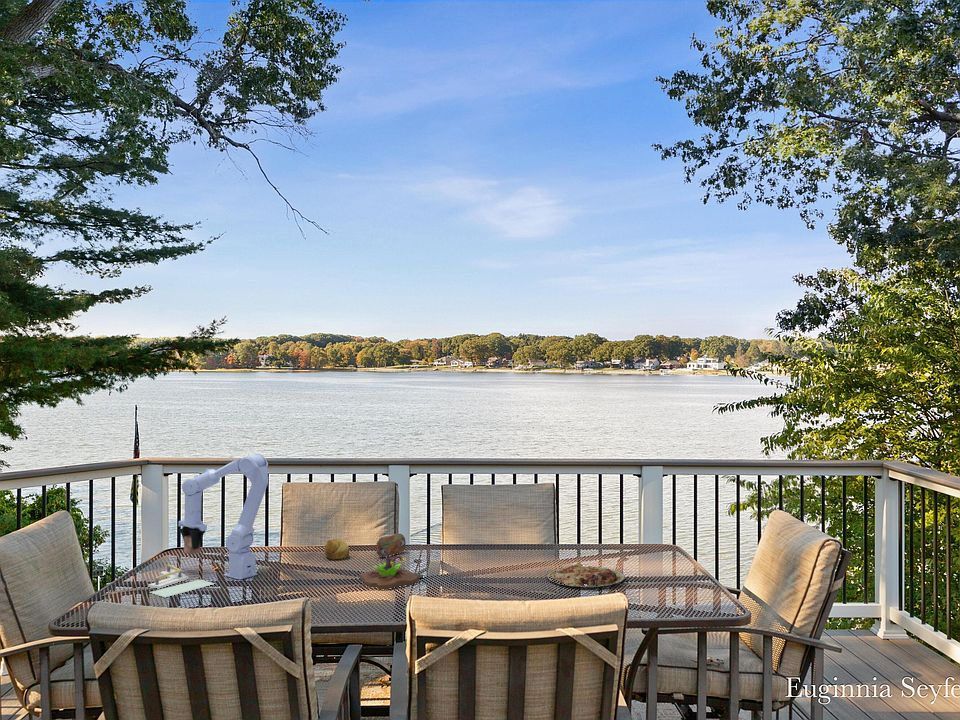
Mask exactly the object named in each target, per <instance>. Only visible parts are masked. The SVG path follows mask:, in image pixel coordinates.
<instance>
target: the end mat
mask: <svg viewBox="0 0 960 720" xmlns="http://www.w3.org/2000/svg"><path fill="white" fill-rule="evenodd" d="M214 584H216V583H215V582H211V581H206V580H203V579H196V580H192V581H188V582H184V583H181V584H175V585H171V586H168V587H165V588H162V589H155V590H153V591H149V593H152V594H151V595H153V594H155V595H154V596H156V595H158V596H157V597H159V596H162V597H161V598H163V597H164V598H163V599H167V598H166V597H168V598H171V597H170V596H172V597H175V596H179V595H183V594H186V593H185V592H187V593H190V592H193V591H192V590H194V591H197V590H196V589H198V590H201V589H200V588H202V589H204V588H203V587H205V588H207V587H206V586H209V587H211V586H210V585H213V586H215V585H214ZM189 591H190V592H189ZM182 593H183V594H182ZM178 594H179V595H178ZM174 595H175V596H174Z"/></svg>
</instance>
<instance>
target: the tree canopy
mask: <svg viewBox="0 0 960 720" xmlns="http://www.w3.org/2000/svg"><path fill="white" fill-rule="evenodd" d="M406 545H407V544H406V538H405V536H404V535H403V534H401V533H393V534H388V535H385V536H381V537H379V539H377V542H376V546H375V547H376V548H375V549H376V554H377V555H378V556H379V557H380V556H382V557H381V558H384V557H385V556H386V554H383V553H382V552H383V550H387V552H388V555H393V554H397V553H401V552H402V553H403V552H404V551H405V549H406ZM402 553H401V554H402Z"/></svg>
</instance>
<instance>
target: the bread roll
mask: <svg viewBox="0 0 960 720" xmlns="http://www.w3.org/2000/svg"><path fill="white" fill-rule="evenodd" d="M324 554H325V556H326V559H329V560H331V559H339V560H344V559H346V558H347V557H348V556H349V554H350V547H349V545H348V544H347V543H346V542H345V541H344V540H341V539H338V538H336V539H329V540H328V541H326V543H325V544H324ZM343 558H344V559H343Z"/></svg>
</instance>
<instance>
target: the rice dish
mask: <svg viewBox="0 0 960 720" xmlns="http://www.w3.org/2000/svg"><path fill="white" fill-rule="evenodd" d="M558 570H560V571H558ZM555 571H557V572H555ZM553 572H554V573H553ZM551 573H552V574H551ZM550 574H551V576H552V578H554V579H557V580H558V581H560V582H563V583H564V584H565V585H564V584H560V583H557V582H554V581H552V580H551V579H550V578H549V576H550ZM546 578H547V579H548V580H549V581H550V582H552V583H555V584H557V585H563V586H570V587H578V588H579V587H580V588H584V589H585V588H586V589H593V588H594V587H595V588H600V587H604V586H605V587H607V586H611V585H614V584H618V583H621V582H622V581H624V580H626V575H625V574H624V573H623V571H619V570H615V569H613V568H608V567H601V566H593V565H592V566H591V565H590V566H588V565H587V566H584V565H583V564H582V563H580V562H578V563H575V564H572V565H570V566H569V565H568V567H563V568H557V569H554V570H552V571H549V572H548V573H547V576H546ZM614 581H617V582H614ZM584 584H587V585H589V586H586V587H585V586H584Z"/></svg>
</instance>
